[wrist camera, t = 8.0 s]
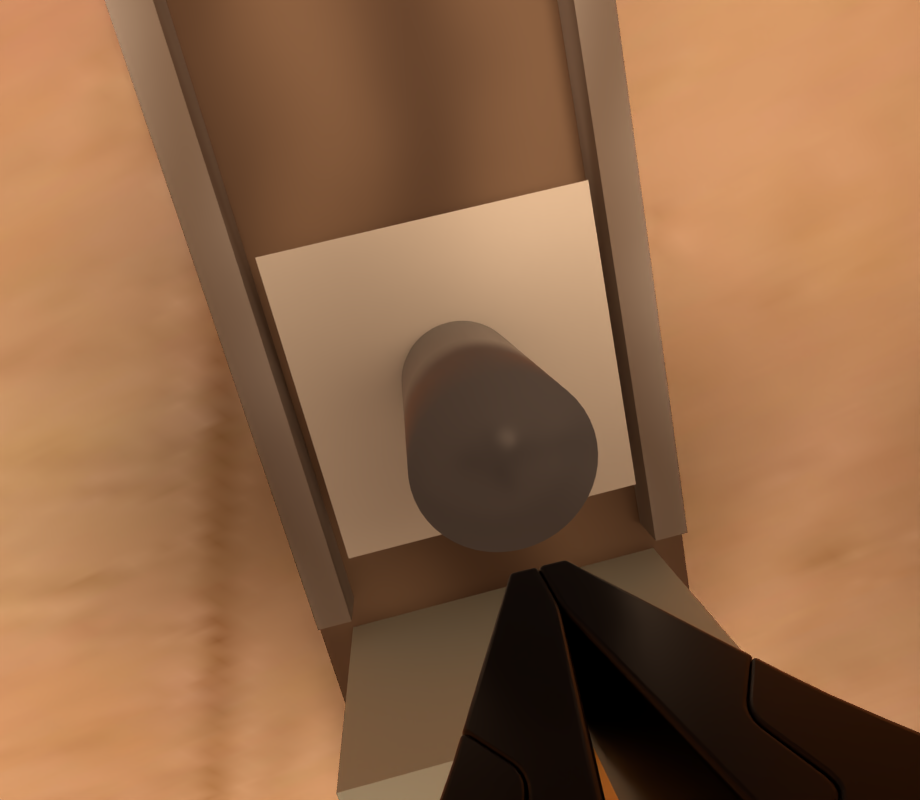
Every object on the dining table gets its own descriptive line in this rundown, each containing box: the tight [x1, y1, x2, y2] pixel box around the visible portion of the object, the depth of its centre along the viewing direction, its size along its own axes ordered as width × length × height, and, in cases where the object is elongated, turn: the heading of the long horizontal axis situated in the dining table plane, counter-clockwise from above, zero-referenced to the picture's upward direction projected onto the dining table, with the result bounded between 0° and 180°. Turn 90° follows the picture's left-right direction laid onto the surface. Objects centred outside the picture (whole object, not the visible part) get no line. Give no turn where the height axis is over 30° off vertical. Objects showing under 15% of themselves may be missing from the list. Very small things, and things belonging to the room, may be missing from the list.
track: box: [105, 0, 689, 704], centre depth 17 cm, size 12×27×3 cm, turn 14°
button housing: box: [337, 548, 740, 800], centre depth 17 cm, size 10×6×6 cm, turn 103°
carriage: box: [255, 180, 636, 558], centre depth 13 cm, size 8×8×8 cm
